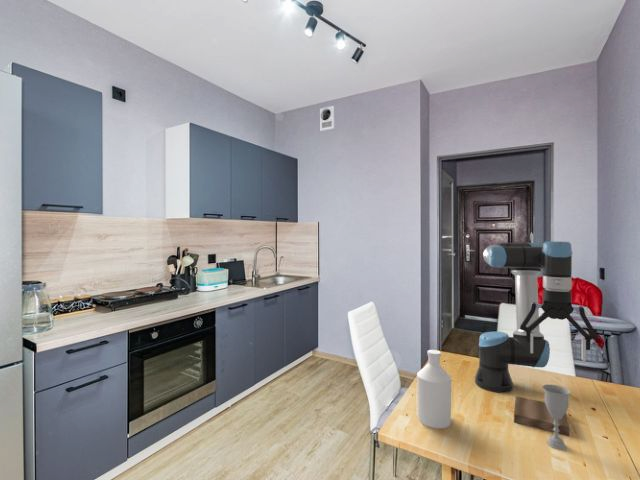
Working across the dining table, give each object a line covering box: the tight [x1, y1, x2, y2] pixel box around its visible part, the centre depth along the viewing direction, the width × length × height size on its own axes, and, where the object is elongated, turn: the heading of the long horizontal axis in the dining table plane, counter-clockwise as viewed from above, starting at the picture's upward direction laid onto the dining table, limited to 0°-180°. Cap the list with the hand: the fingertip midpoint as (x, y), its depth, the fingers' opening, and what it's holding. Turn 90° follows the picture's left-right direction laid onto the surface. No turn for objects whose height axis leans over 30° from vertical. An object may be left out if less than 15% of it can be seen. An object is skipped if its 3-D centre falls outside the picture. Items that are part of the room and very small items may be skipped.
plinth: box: [513, 395, 570, 437], centre depth 124 cm, size 16×16×3 cm
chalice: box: [542, 384, 571, 451], centre depth 108 cm, size 7×7×18 cm
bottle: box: [416, 349, 452, 430], centre depth 123 cm, size 12×12×25 cm
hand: (556, 355), depth 108 cm, fingers open, 13 cm apart
